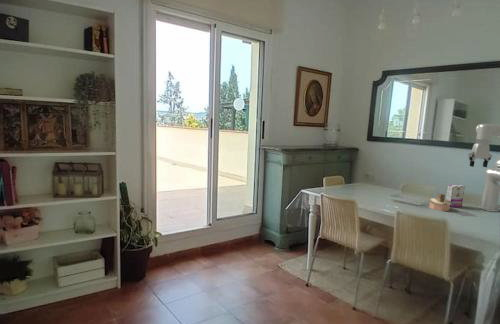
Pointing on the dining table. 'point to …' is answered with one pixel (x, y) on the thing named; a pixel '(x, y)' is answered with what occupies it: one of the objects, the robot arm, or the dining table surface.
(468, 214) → the mat
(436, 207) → the bowl
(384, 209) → the dining table surface
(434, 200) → the lid
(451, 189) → the candy bar box
